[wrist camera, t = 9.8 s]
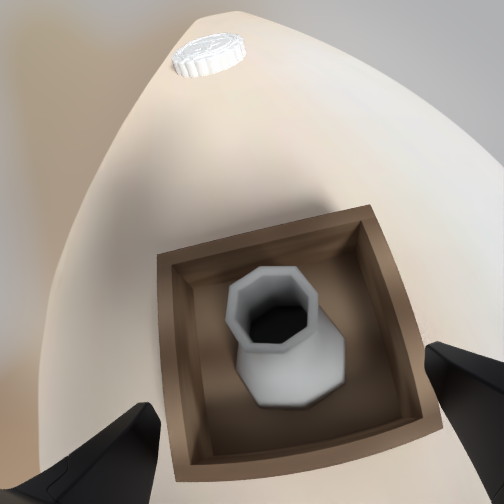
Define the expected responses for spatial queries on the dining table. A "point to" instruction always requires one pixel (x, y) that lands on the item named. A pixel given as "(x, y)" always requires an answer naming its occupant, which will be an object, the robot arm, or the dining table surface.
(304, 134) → the dining table surface
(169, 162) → the dining table surface
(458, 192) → the dining table surface
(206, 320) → the walled box
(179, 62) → the mooncake
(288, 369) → the flask
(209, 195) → the dining table surface
